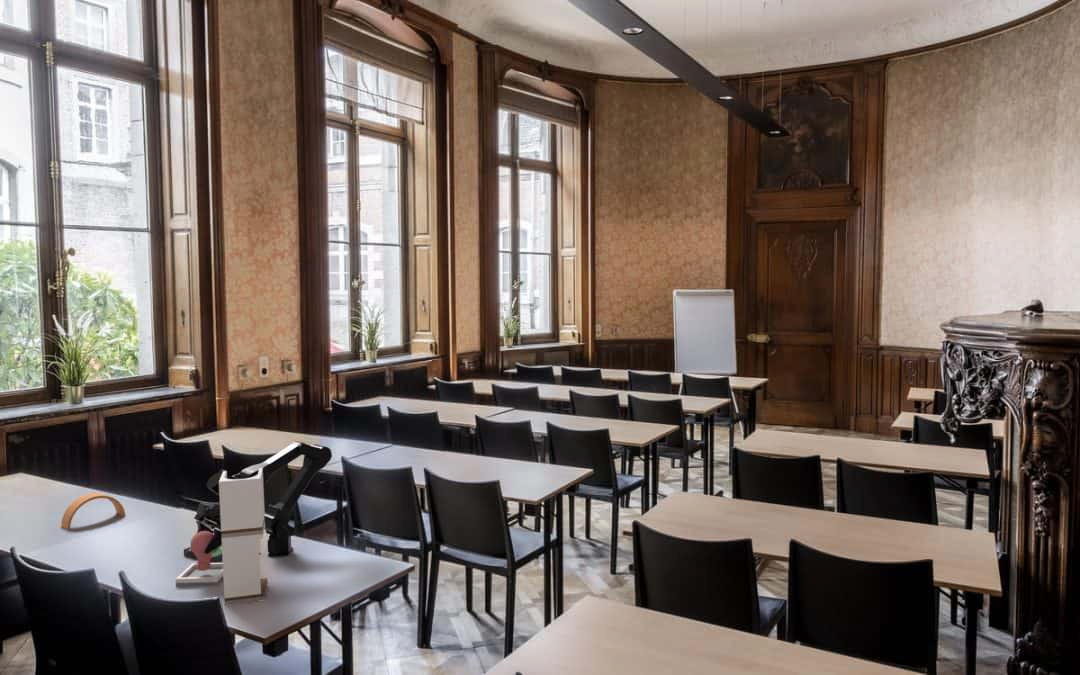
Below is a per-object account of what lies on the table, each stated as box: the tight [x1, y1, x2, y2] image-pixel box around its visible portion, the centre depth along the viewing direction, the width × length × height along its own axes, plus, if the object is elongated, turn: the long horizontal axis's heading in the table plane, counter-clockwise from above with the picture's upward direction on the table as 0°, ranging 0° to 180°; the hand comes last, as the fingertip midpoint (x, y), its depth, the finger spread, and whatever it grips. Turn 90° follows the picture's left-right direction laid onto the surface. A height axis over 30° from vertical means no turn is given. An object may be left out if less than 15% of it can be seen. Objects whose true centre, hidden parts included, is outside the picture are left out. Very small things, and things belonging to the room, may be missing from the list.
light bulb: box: [189, 531, 214, 571], centre depth 232 cm, size 7×7×12 cm
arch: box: [61, 492, 126, 531], centre depth 285 cm, size 6×20×10 cm, turn 141°
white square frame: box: [175, 562, 224, 587], centre depth 233 cm, size 12×12×2 cm
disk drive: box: [183, 545, 223, 563], centre depth 251 cm, size 10×3×15 cm
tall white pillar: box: [218, 468, 269, 606], centre depth 219 cm, size 11×11×35 cm
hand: (199, 550), depth 231 cm, fingers closed on light bulb, 7 cm apart
